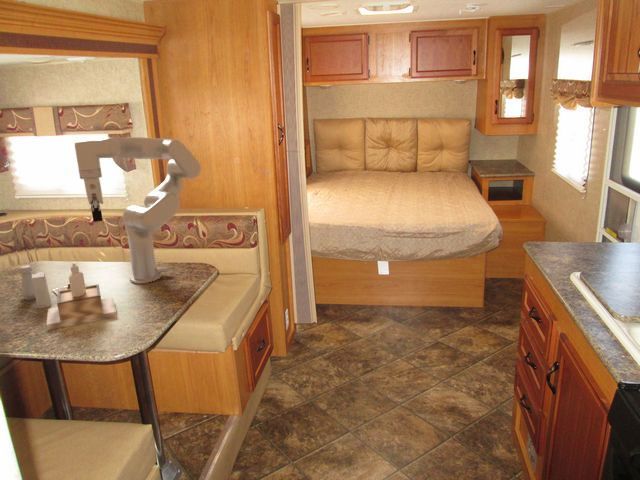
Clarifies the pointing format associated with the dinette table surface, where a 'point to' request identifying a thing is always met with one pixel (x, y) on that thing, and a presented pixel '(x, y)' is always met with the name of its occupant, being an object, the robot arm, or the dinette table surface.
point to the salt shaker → (27, 283)
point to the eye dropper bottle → (76, 282)
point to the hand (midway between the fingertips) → (97, 218)
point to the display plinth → (80, 320)
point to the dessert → (63, 288)
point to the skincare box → (41, 290)
